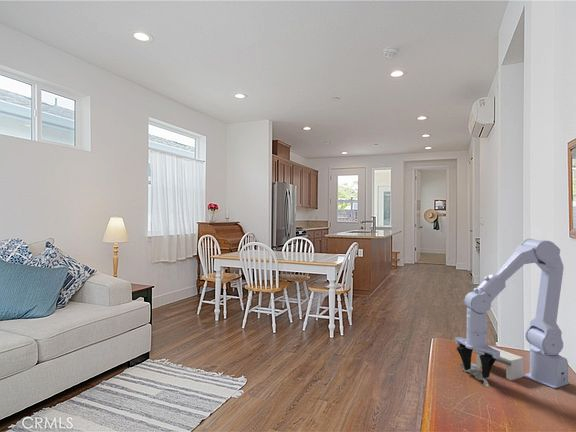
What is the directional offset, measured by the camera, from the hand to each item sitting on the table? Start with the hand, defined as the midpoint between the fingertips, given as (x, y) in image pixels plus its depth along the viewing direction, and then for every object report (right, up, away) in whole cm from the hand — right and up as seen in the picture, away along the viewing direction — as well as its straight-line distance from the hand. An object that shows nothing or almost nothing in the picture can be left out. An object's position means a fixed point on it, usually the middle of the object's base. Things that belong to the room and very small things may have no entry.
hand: (476, 373), depth 118 cm
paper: (+1, -2, +1) cm, 3 cm away
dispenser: (+10, -1, +5) cm, 11 cm away
